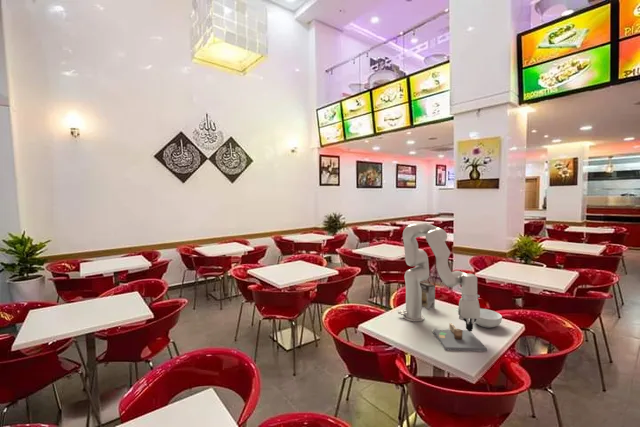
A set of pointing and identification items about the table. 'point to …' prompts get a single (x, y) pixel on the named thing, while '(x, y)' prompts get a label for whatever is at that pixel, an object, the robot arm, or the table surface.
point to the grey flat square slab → (459, 341)
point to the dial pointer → (456, 331)
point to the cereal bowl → (489, 318)
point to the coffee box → (428, 295)
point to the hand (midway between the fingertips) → (469, 330)
